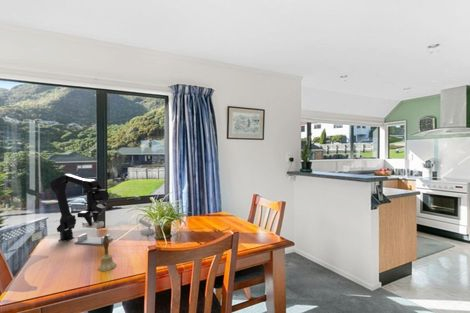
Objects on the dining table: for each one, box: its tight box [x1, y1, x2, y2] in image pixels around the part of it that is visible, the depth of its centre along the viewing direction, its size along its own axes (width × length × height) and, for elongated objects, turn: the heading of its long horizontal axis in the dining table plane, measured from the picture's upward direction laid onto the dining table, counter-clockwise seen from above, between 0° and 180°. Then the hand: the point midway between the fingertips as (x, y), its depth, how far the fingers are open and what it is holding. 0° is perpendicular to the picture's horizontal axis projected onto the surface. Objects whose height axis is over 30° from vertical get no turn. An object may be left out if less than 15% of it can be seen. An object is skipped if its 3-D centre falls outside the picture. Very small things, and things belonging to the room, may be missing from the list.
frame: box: [81, 220, 105, 229], centre depth 169 cm, size 12×4×3 cm, turn 79°
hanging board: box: [74, 232, 114, 246], centre depth 170 cm, size 19×10×4 cm, turn 79°
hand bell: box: [97, 234, 117, 272], centre depth 134 cm, size 8×8×16 cm
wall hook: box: [138, 218, 155, 236], centre depth 186 cm, size 9×10×10 cm
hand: (93, 224), depth 169 cm, fingers closed on frame, 4 cm apart
